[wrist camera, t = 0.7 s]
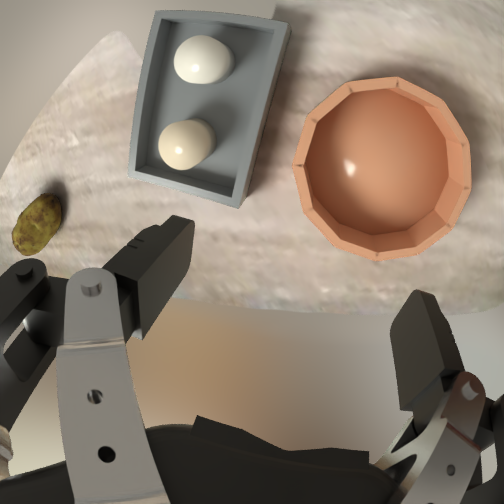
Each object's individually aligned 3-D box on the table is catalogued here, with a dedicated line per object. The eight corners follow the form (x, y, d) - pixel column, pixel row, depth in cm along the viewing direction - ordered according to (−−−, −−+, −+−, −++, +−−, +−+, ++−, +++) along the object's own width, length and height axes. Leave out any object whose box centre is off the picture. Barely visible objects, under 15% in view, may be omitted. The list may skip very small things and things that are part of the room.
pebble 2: (179, 114, 29) (162, 118, 25) (221, 123, 29) (208, 127, 25) (172, 155, 32) (155, 164, 28) (211, 165, 31) (198, 175, 28)
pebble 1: (196, 39, 24) (180, 33, 21) (240, 45, 24) (229, 38, 20) (186, 80, 27) (169, 80, 23) (229, 88, 26) (216, 87, 23)
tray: (170, 16, 24) (155, 10, 21) (291, 31, 23) (288, 22, 20) (142, 169, 34) (127, 177, 31) (246, 197, 33) (238, 208, 31)
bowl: (324, 57, 24) (326, 49, 19) (471, 125, 23) (492, 132, 18) (279, 208, 33) (272, 226, 29) (413, 256, 32) (424, 279, 28)
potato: (78, 227, 42) (47, 251, 35) (46, 244, 46) (19, 266, 39) (58, 183, 38) (23, 203, 32) (28, 208, 43) (-1, 226, 36)
